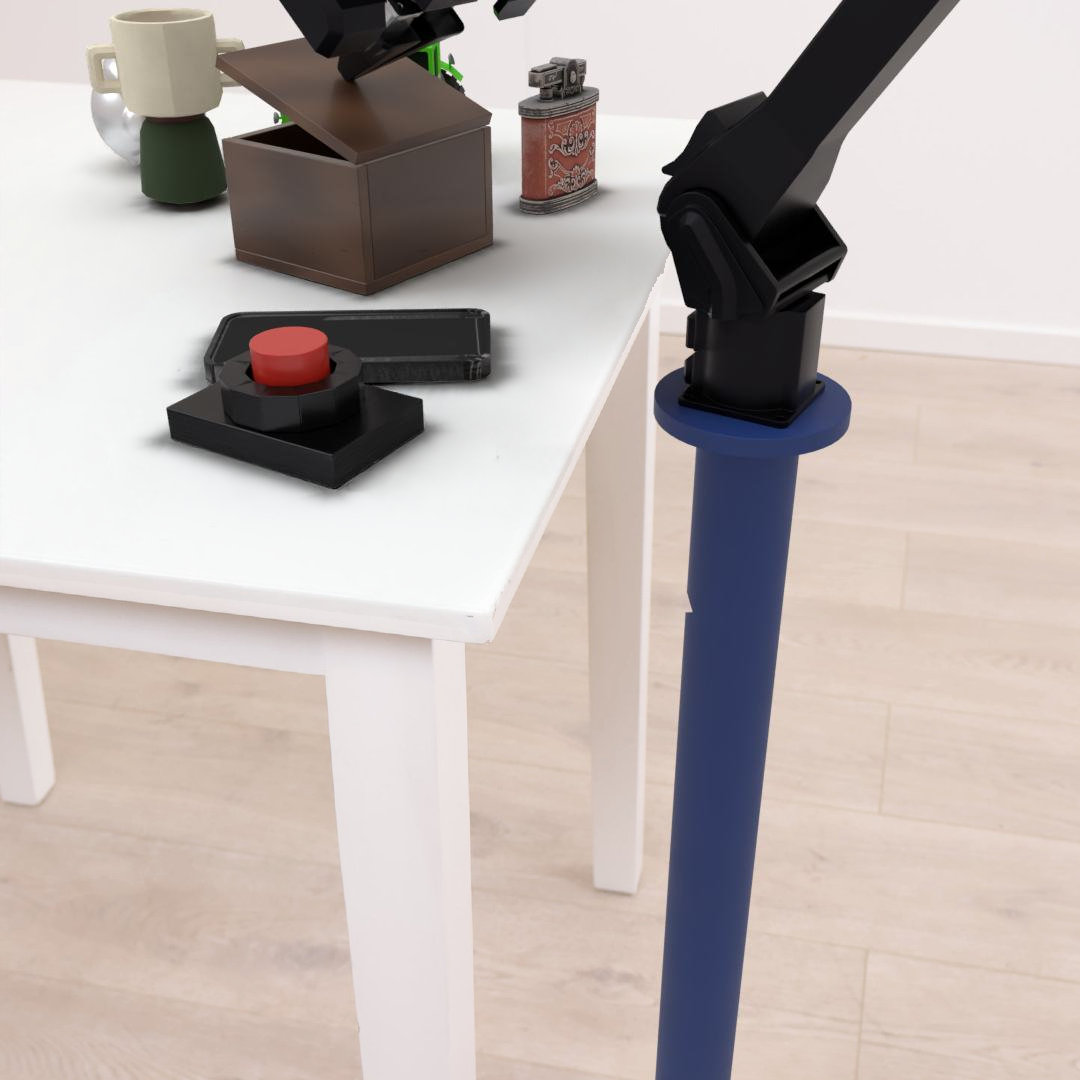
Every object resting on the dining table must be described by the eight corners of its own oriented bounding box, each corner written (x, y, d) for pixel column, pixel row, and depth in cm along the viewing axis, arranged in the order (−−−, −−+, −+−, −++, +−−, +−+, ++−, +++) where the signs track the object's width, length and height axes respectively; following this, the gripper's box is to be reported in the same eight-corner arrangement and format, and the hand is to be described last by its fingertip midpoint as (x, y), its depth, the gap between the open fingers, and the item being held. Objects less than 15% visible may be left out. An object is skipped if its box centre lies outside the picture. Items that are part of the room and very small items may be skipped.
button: (346, 369, 62) (343, 335, 61) (297, 396, 59) (293, 361, 59) (287, 354, 64) (283, 321, 63) (237, 380, 61) (232, 345, 60)
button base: (425, 430, 64) (421, 363, 62) (335, 489, 58) (328, 418, 57) (267, 388, 68) (259, 324, 66) (170, 439, 63) (159, 371, 61)
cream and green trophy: (257, 182, 102) (237, 3, 95) (264, 207, 96) (244, 19, 89) (112, 192, 99) (81, 10, 93) (110, 219, 94) (77, 26, 87)
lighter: (570, 184, 101) (571, 48, 96) (607, 190, 100) (610, 53, 94) (508, 208, 96) (506, 65, 90) (546, 216, 94) (546, 71, 89)
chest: (236, 260, 86) (221, 139, 82) (367, 214, 94) (359, 103, 90) (366, 296, 80) (357, 167, 76) (493, 244, 89) (491, 126, 85)
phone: (490, 361, 68) (199, 365, 67) (491, 381, 68) (202, 385, 68) (490, 307, 75) (225, 310, 74) (490, 325, 75) (227, 329, 75)
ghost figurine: (78, 179, 103) (53, 45, 98) (129, 149, 111) (109, 24, 106) (187, 184, 101) (168, 48, 96) (231, 153, 109) (215, 27, 104)
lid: (214, 66, 79) (216, 54, 79) (357, 37, 88) (359, 25, 88) (355, 166, 76) (358, 153, 75) (489, 124, 85) (493, 113, 84)
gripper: (499, -238, 77) (373, -47, 88) (266, -239, 64) (152, -14, 75) (608, -83, 77) (467, 89, 88) (396, -52, 64) (263, 145, 75)
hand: (345, 74), depth 82 cm, fingers closed
